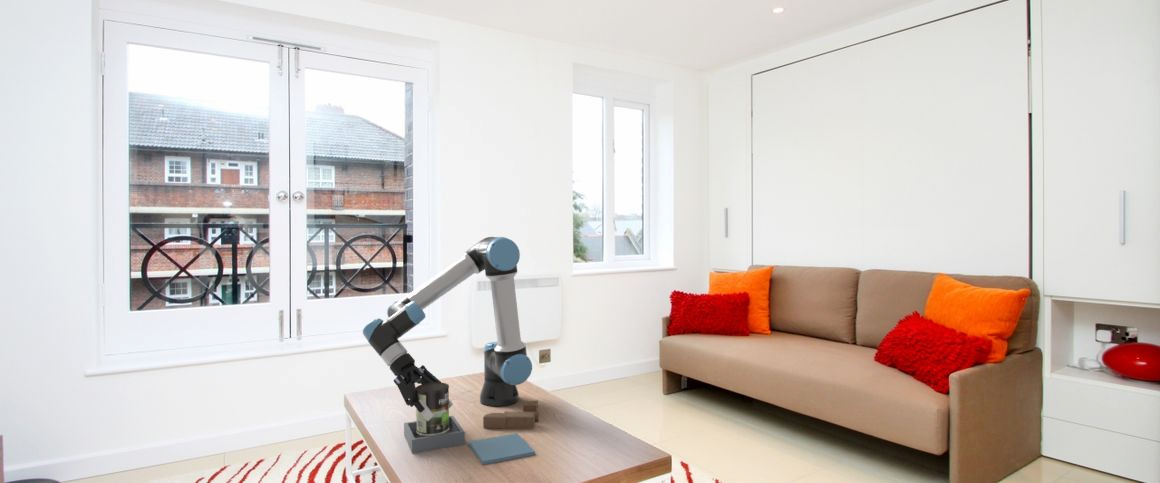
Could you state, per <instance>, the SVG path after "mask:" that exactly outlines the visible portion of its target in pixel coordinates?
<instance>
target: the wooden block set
mask: <svg viewBox="0 0 1160 483" xmlns="http://www.w3.org/2000/svg"><path fill="white" fill-rule="evenodd" d="M539 420H540V413H539V400H529V401H527V400H526V401H525V403H524V404H523V405H522V411H510V410H509V411H507V410H506V411H504V412H490V413H487V414H485V415H483V419H482V421H483V422H482V427H483V428H484V429H506V430H533V428H534V429H535V426H534V425H536V422H538V421H539Z"/></svg>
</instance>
